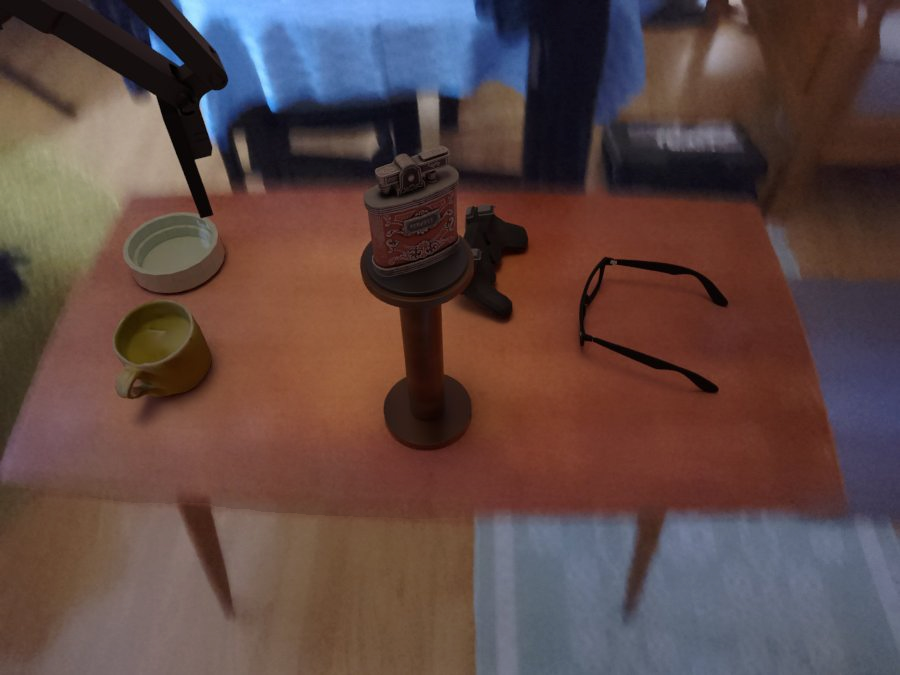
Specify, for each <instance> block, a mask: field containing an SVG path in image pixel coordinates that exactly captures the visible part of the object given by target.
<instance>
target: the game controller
mask: <svg viewBox="0 0 900 675" xmlns="http://www.w3.org/2000/svg"><path fill="white" fill-rule="evenodd" d="M495 208H496V206H495V205H493V204H479V206H475V205H470V206H467V207H466V208H465V212H464V213H465V214H464V216H465V221H464V234H463V236H462V237H463V238H464V239H465V240H466V242H467V243H468V244H469V246H470V248H471V250H472V252H473V257H474V272H473V276H472V279H471V281H470V283H469V284H468V286H467V287H466V288H465V290H464V291H463V292H462V293H460V294H459V295H462V296H463V297H466V298H467V299H468V300H470V301H472V302H473V303H475V304H476V305H478V306H479V307H481V308H483V309H484V310H486V311H487V312H489V313H490V314H492V315H493V316H495V317H497V318H500V319H502V320H507V319H509V318H510V316H511V314H512V312H513V311H514V308H513V307H514V306H513V301H512V300H511V299H510V298H509V297H508V296H506V295H505V294H503V293H502V292H500V291H499V290H498V289H496V288H495V287H494V286H495V283H496V282H497V273H496V272H497V271H496V268H495V266H494V265H499V264H501V262H502V256H503V254H502V251H510V252H511V251H513V252H524V251H526V249H527V247H528V246H529V236H528V232H527V229H525V227H524V226H522V225H519V224H515V223H512V222H507V221H505V220H503V219H501V218H500V217H498V216H497V215H496V214H495Z"/></svg>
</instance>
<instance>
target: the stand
mask: <svg viewBox="0 0 900 675" xmlns="http://www.w3.org/2000/svg"><path fill="white" fill-rule="evenodd" d="M458 235H459V248H458V250H457V251H456V252H454V253H452V254H451V255H449V256H447V257H445V258H444V259H442V260H440V261H438V262H435V263H433V264H431V265H429V266H426V267H424V268H421V269H418V270H414V271H411V272H408V273H404V274H400V275H395V276H391V277H384V276H381V275H379V274H377V273H376V272H375V270H374V268H373V262H372V256H373V255H374V254H373V247H372V239H371V240H370V241H369V242H368V243H367V245H366V246H365V247H364V249H363V251H362V253H361V256H360V261H359V270H360V276H361V280H362V282H363V285H364V286H365V288H366V289H367V291H368V292H369V293H370V294H371V295H372V296H373V297H375V298H376V299H377V300H378V301H380V302H382V303H384V304H386V305H390V306H392V307H394V308H395V307H396V308H398V310H399V317H400V318H399V319H400V320H399V321H400V329H401V330H400V331H401V338H402V346H403V358H404V365H405V366H404V367H405V377H403V378H402V379H400V380H398V381H397V382H396V383H395V384H394V385H392V387H391V388H390V389H389V391H388V393H387V394H386V396H385V399H384V403H383V408H382V409H383V417H384V423H385V426H386V428H387V430H388V432H389V433H390V435H391V436H392V437H393V438H394V439H395V440H396V441H398V442H399V443H400V444H402V445H404V446H406V447H408V448H411V449H413V450H417V451H419V450H420V451H433V450H434V451H435V450H439V449H443V448H446V447H448V446H450V445H452V444H454V443H455V442H457V441H458V440H459V439H460V438H461V437H462V436H463V435H464V434H465V432H466V431H467V430H468V428H469V426H470V423H471V419H472V410H473V409H472V408H473V407H472V400H471V397H470V394H469V392H468V390H467V388H466V387H465V386H464V385H463V384H462V383H461V382H460V381H459V380H457V379H456V378H455V377H452V376H451V375H448V374H445V367H444V366H445V365H444V336H443V311H442V310H443V309H442V305H444V304H446V303H448V302H450V301H453V300H454V299H456V298H457V297H458V296H459V295H461V294H460V293H462V292H463V291H464V290H465V288H466V287H467V286H468V284H469V283H470V281H471V279H472V276H473V272H474V257H473V252H472V250H471V248H470V246H469V244H468V243H467V242H466V240H465V239H464V238H463V236H462V235H461V234H459V233H458Z"/></svg>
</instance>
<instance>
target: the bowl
mask: <svg viewBox="0 0 900 675" xmlns="http://www.w3.org/2000/svg"><path fill="white" fill-rule="evenodd" d="M225 252H226V251H225V247H224V245H223V242H222V238H221V236H220V234H219V231H218V228H217V225H216V224H215V223H214V222H213V221H212V220H211V219H210V218H209V217H205V218H200V215H199V213H196V212H188V211H180V212H170V213H166V214H162V215H159V216H155V217H153V218H150V219H149V220H147V221H145V222H143V223H142V224H140V225H139V226H138V227H136V228H135V229H134V230H133V231H131V233H130V234H129V235H128V237H127V238H126V239H125V241H124V244H123V246H122V256H123V261H124V263H125V264H126V267H127V268H128V270H129V272H130V274H131V276H132V278H133V279H134V281H136V283H137V285H139V286H140V287H141V288H144V289H146V290H147V291H150V292H155V293H161V294H173V293H179V292H180V293H181V292H185V291H188V290H191V289H195V288H196V287H198V286H200V285H203V284H204V283H206V282H207V281H208V280H209V279H211V278H212V277H213V276H214V275H215V274H216V273H218V271H219V269H220V267H221V266H222V265H223V263H224V260H225V254H226V253H225Z"/></svg>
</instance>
